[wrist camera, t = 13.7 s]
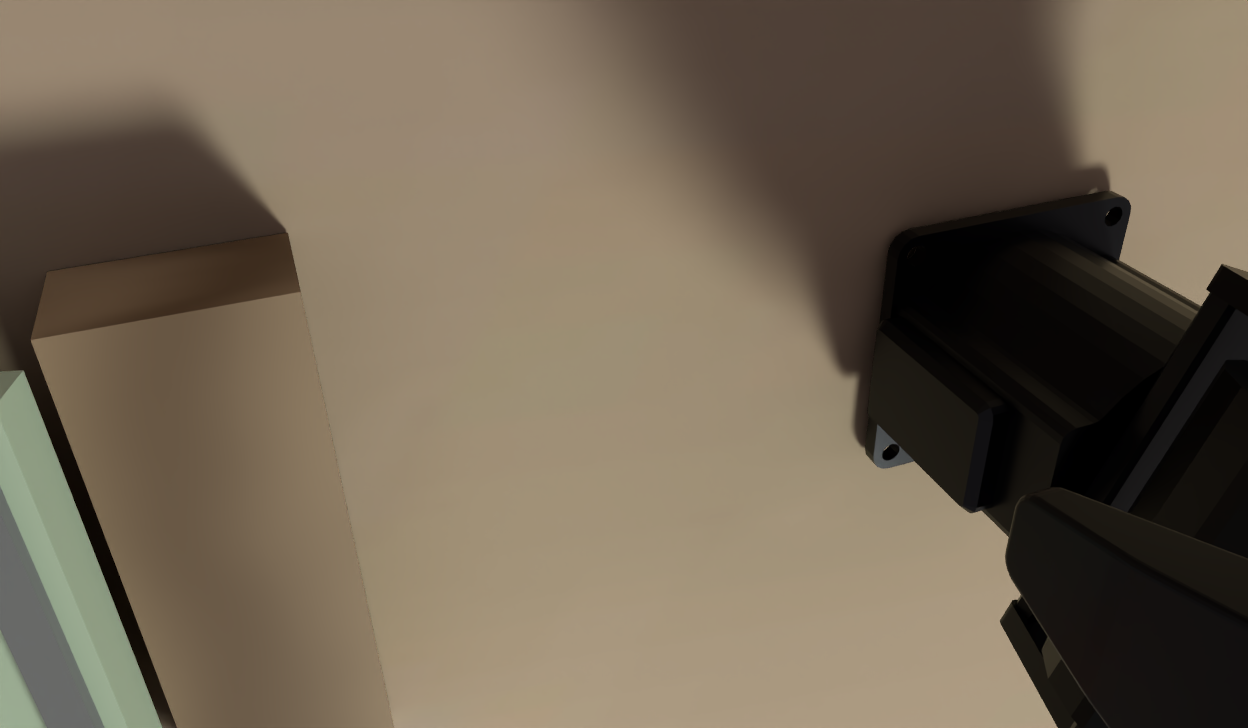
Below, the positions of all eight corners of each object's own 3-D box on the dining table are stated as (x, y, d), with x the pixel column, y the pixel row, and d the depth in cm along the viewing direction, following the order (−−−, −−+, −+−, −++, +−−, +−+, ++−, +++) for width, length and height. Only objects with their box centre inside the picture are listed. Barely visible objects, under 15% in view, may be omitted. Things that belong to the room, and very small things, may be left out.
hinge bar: (287, 232, 19) (300, 291, 17) (391, 715, 26) (409, 797, 24) (47, 271, 18) (30, 340, 16) (222, 764, 25) (225, 856, 23)
